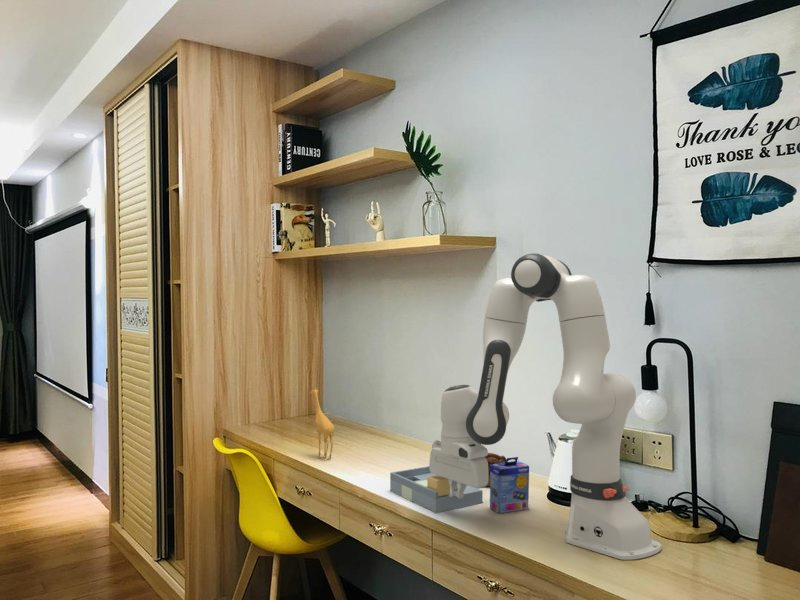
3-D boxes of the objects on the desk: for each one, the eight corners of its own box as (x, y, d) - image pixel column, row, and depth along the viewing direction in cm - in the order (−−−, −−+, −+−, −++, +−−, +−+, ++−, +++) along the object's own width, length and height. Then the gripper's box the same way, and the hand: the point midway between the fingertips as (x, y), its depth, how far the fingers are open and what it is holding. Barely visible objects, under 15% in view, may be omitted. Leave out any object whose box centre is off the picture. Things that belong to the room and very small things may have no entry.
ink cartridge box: (499, 514, 177) (499, 460, 177) (488, 508, 182) (488, 455, 182) (530, 509, 181) (530, 456, 181) (519, 503, 186) (518, 452, 186)
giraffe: (305, 454, 246) (305, 387, 246) (316, 452, 249) (315, 386, 249) (327, 463, 233) (326, 392, 233) (338, 461, 236) (337, 390, 235)
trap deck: (482, 502, 187) (482, 483, 187) (435, 512, 179) (435, 492, 179) (434, 482, 208) (434, 465, 208) (390, 490, 199) (390, 472, 199)
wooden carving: (464, 489, 200) (464, 456, 200) (460, 485, 205) (460, 453, 205) (516, 487, 203) (516, 454, 203) (512, 482, 207) (511, 451, 207)
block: (450, 495, 183) (450, 478, 183) (436, 498, 180) (436, 480, 180) (440, 491, 187) (440, 474, 187) (427, 493, 184) (427, 477, 184)
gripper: (423, 440, 184) (424, 490, 184) (474, 454, 168) (474, 509, 168) (441, 437, 188) (441, 486, 188) (492, 450, 172) (492, 504, 172)
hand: (457, 497), depth 178 cm, fingers closed
